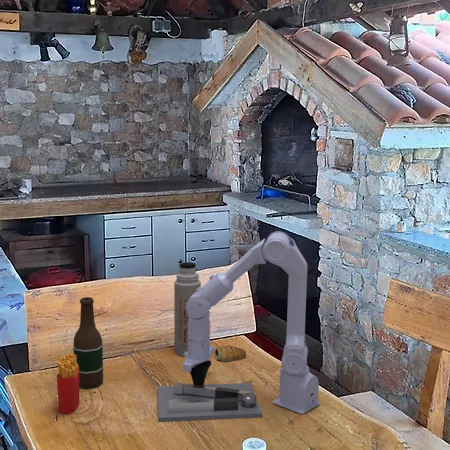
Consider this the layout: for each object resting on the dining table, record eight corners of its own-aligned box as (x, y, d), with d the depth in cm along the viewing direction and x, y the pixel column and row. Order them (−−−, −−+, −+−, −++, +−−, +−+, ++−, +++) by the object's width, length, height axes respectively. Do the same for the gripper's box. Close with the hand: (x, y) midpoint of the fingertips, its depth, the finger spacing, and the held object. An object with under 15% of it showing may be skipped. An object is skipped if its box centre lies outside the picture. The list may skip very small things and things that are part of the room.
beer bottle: (109, 383, 177) (107, 298, 173) (85, 392, 171) (83, 304, 167) (92, 375, 182) (90, 292, 178) (68, 383, 177) (65, 298, 173)
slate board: (250, 386, 176) (250, 382, 176) (261, 417, 159) (261, 413, 158) (157, 389, 173) (157, 386, 173) (158, 421, 156) (158, 417, 156)
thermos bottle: (197, 357, 196) (197, 267, 191) (171, 355, 198) (171, 266, 193) (202, 348, 204) (203, 261, 199) (177, 346, 205) (177, 260, 200)
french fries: (72, 415, 158) (71, 365, 156) (55, 415, 158) (53, 364, 156) (82, 399, 167) (81, 351, 165) (66, 398, 167) (64, 350, 165)
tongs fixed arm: (236, 405, 162) (236, 396, 162) (238, 410, 160) (238, 401, 160) (168, 408, 160) (168, 399, 160) (168, 413, 158) (168, 403, 158)
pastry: (242, 352, 201) (243, 341, 201) (248, 361, 195) (249, 349, 194) (213, 355, 199) (213, 343, 198) (218, 363, 193) (218, 351, 192)
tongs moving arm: (258, 400, 165) (258, 392, 165) (254, 407, 161) (254, 399, 160) (176, 389, 171) (176, 382, 170) (170, 397, 166) (170, 389, 166)
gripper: (197, 327, 176) (197, 375, 178) (171, 345, 162) (171, 396, 165) (221, 331, 173) (220, 380, 175) (197, 349, 160) (196, 401, 162)
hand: (198, 388), depth 170 cm, fingers closed
